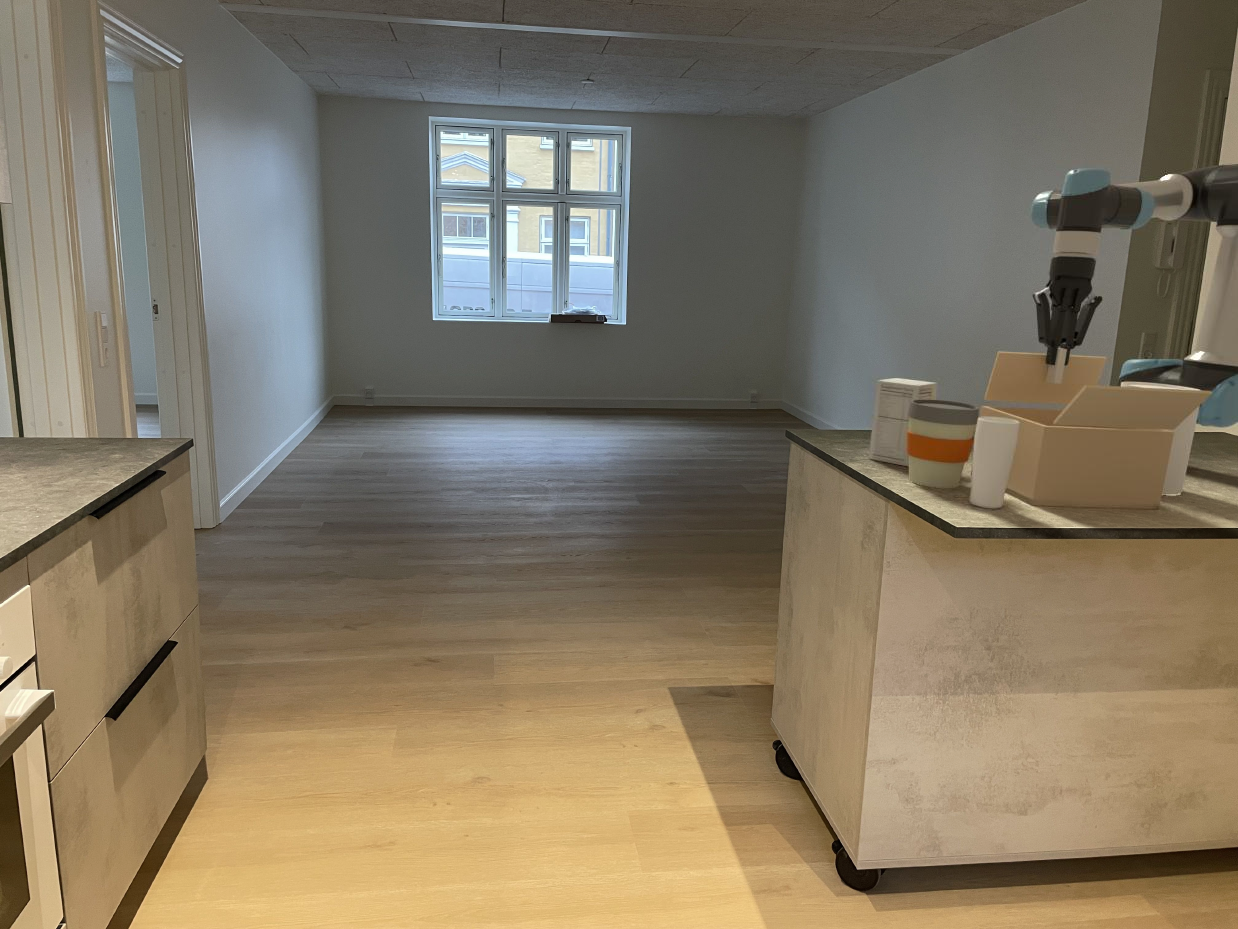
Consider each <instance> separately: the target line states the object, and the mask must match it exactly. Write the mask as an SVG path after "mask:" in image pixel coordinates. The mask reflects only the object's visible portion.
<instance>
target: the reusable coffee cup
mask: <svg viewBox="0 0 1238 929" xmlns="http://www.w3.org/2000/svg"><path fill="white" fill-rule="evenodd" d="M979 408H980V407H978V406H977V405H974V404H971V403H966V402H961V401H960V402H959V401H954V400H953V401H952V400H945V399H936V400H933V399H915V400H911V403H910V407H909V411H908V415H907V416H909V429H908V430H907V454H908V455H909V466H908V480H910V482H911V481H912V482H911V483H913V482H914V483H913V484H915V483H918V484H917V485H919V484H921V485H920V486H923V485H925V486H924V487H928V486H929V487H930V488H934V487H936V488H935V489H955V488H958V487H959V485H960V481H961V477H962V474H963V472H964V471H963V470H964V468H965V467H964V466H965V464H966V463H967V462H968V461H969V459H970V455H971V452H972V448H973V446H974V437H975V436H974V434H975V430H976V425H977V420H978V418H979V415H980V410H979Z"/></svg>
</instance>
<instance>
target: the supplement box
mask: <svg viewBox="0 0 1238 929" xmlns="http://www.w3.org/2000/svg"><path fill="white" fill-rule="evenodd" d="M937 392H938V383H937V382H932V381H931V382H930V381H924V380H916V379H915V380H914V379H907V378H901V377H899V378H898V377H895V378H885V379H880V380H877V384H876V392H875V400H874V408H873V415H872V417H873V418H872V425H871V435H870V442H869V443H870V444H869V450H868V451H869V453H868V460H873V461H879V462H885V463H889V464H892V465H893V464H895V465H899V466H904V467H909V455H908V454H907V430H908V429H909V416H907V415H908V411H909V407H910V403H911V400H915V399H933V400H937Z"/></svg>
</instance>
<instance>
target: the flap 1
mask: <svg viewBox="0 0 1238 929" xmlns="http://www.w3.org/2000/svg"><path fill="white" fill-rule="evenodd" d="M1046 355H1047V353H1039V352H1037V353H1036V352H1035V353H1034V352H1018V351H1017V352H1016V351H1015V352H1014V351H1000V350H999V351H997V354H996V358H995V360H994V364H993V367H992V370H991V374H990V377H989V381H988V385H987V387H986V390H985V395H984V397H983V400H984V401H988V402H1007V403H1010V402H1012V403H1026V404H1027V403H1030V404H1034V403H1035V404H1049V405H1050V404H1051V405H1052V404H1054V405H1068V404H1069V403H1070V402H1071V401H1072V399H1073V398H1074V397H1075V396H1076V395H1077V394H1078V392H1079V391H1080V390H1081V389H1082V388H1083V387H1084V386H1085V385H1098V386H1099V381H1100V380H1101V376H1102V373H1103V370H1104V368H1105V365H1106V361H1107V360H1108V357H1107V356H1093V355H1079V354H1078V355H1077V354H1073V355H1072V354H1070V356H1069V362H1068V364H1067V366H1065V365H1064V370H1063V376H1062V382H1061V383H1052V382H1047V381H1046V377H1047V371H1048V365H1049V364H1046Z"/></svg>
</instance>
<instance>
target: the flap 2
mask: <svg viewBox="0 0 1238 929" xmlns="http://www.w3.org/2000/svg"><path fill="white" fill-rule="evenodd" d="M1211 394H1212V392H1211V391H1202V390H1181V389H1160V388H1140V387H1119V386H1118V385H1116V386H1115V385H1099V384H1098V385H1085V386H1084V387H1083V388H1082V389H1081V390H1080V391H1079V392H1078V394H1077V395H1076V396H1075V397H1074V398H1073V399H1072V401H1071V402H1070V403H1069V404H1066V406H1065V407H1064V408H1063V409H1062V410H1063V411H1062V412H1061V413H1060V414H1059V416H1058V417H1057V418H1056V419H1055V420H1054V421H1053V423H1054V425H1076V426H1099V427H1122V428H1146V429H1169V430H1174V429H1175V428H1176V427H1177V426H1178V425H1179V424H1180V423H1182V422H1183V421H1184V420H1185V419H1186V418H1187V417H1188V416H1189V415H1190V414H1191V413H1192V412H1193V411H1194V410H1195V409H1196V408H1198V407H1199V406H1200V405H1201V404H1202V403H1203V402H1204V401H1205V400H1206V399H1207V398H1208V397H1209V396H1210V395H1211Z"/></svg>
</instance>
